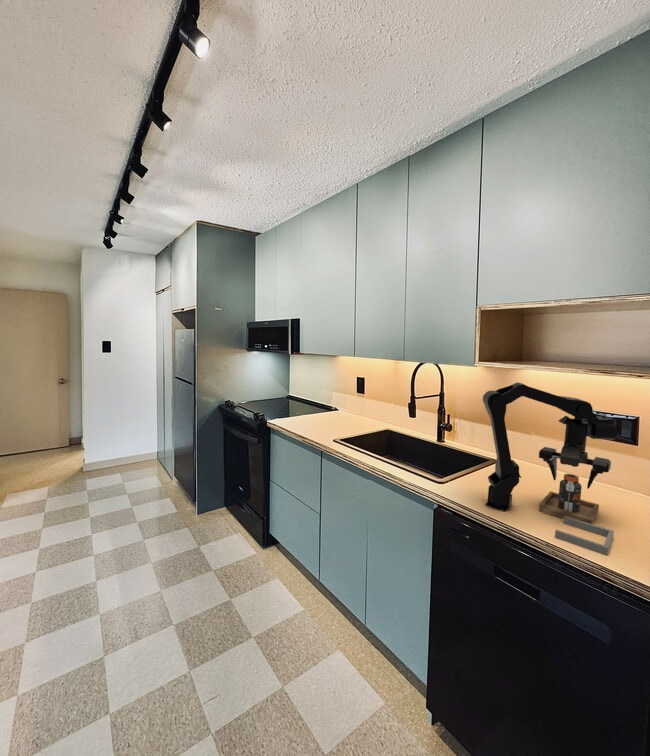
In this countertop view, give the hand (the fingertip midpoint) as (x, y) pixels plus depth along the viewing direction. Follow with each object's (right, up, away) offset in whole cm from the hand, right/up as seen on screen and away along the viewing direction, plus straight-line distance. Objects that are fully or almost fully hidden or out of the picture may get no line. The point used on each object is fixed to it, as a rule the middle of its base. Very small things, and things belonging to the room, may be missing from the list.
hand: (571, 484), depth 117 cm
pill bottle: (0, -9, +1) cm, 9 cm away
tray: (0, -9, +1) cm, 10 cm away
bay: (-6, -11, -14) cm, 19 cm away
